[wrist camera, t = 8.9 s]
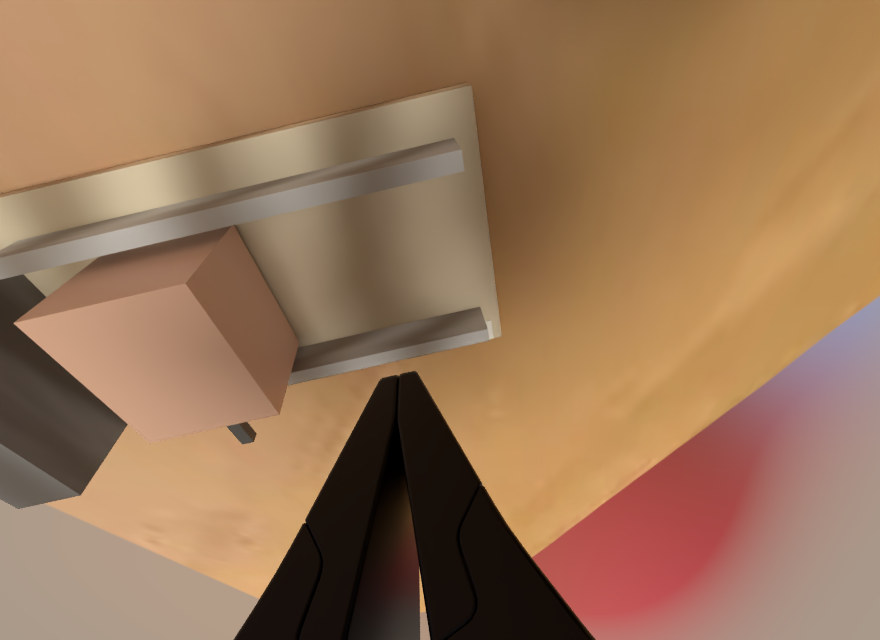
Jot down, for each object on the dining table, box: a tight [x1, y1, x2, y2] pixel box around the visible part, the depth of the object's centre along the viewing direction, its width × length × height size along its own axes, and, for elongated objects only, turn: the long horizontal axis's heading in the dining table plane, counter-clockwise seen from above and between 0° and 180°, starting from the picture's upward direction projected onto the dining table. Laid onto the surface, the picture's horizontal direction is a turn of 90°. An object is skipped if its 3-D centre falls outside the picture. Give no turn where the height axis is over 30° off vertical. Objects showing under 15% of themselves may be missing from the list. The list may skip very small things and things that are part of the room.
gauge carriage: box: [14, 225, 299, 444], centre depth 17 cm, size 6×10×5 cm, turn 11°
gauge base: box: [0, 83, 502, 509], centre depth 17 cm, size 24×13×7 cm, turn 101°
